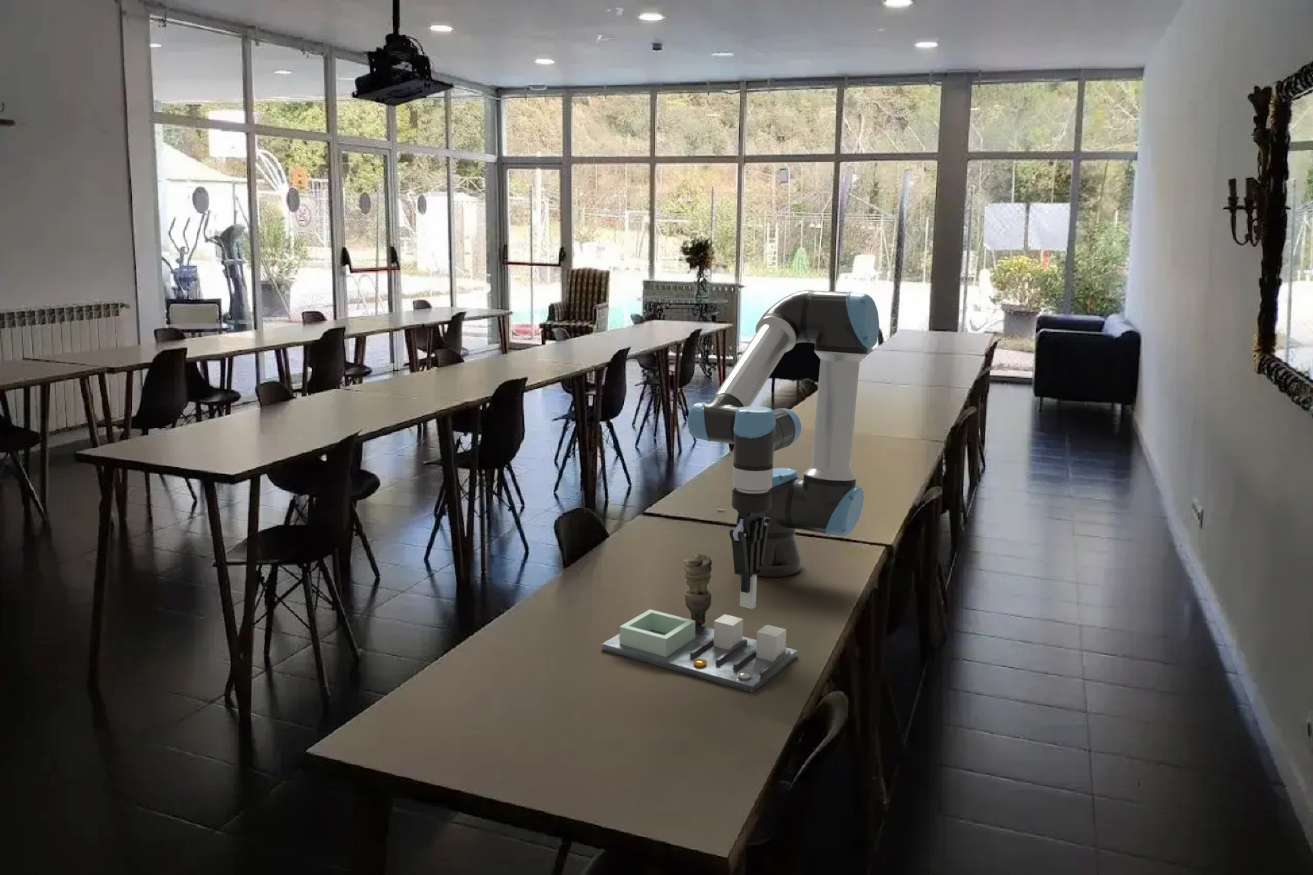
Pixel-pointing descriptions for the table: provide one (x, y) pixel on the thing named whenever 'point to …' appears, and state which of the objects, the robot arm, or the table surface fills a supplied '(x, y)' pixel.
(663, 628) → the socket
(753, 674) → the panel
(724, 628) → the block
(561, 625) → the table surface
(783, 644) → the block
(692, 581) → the light bulb
